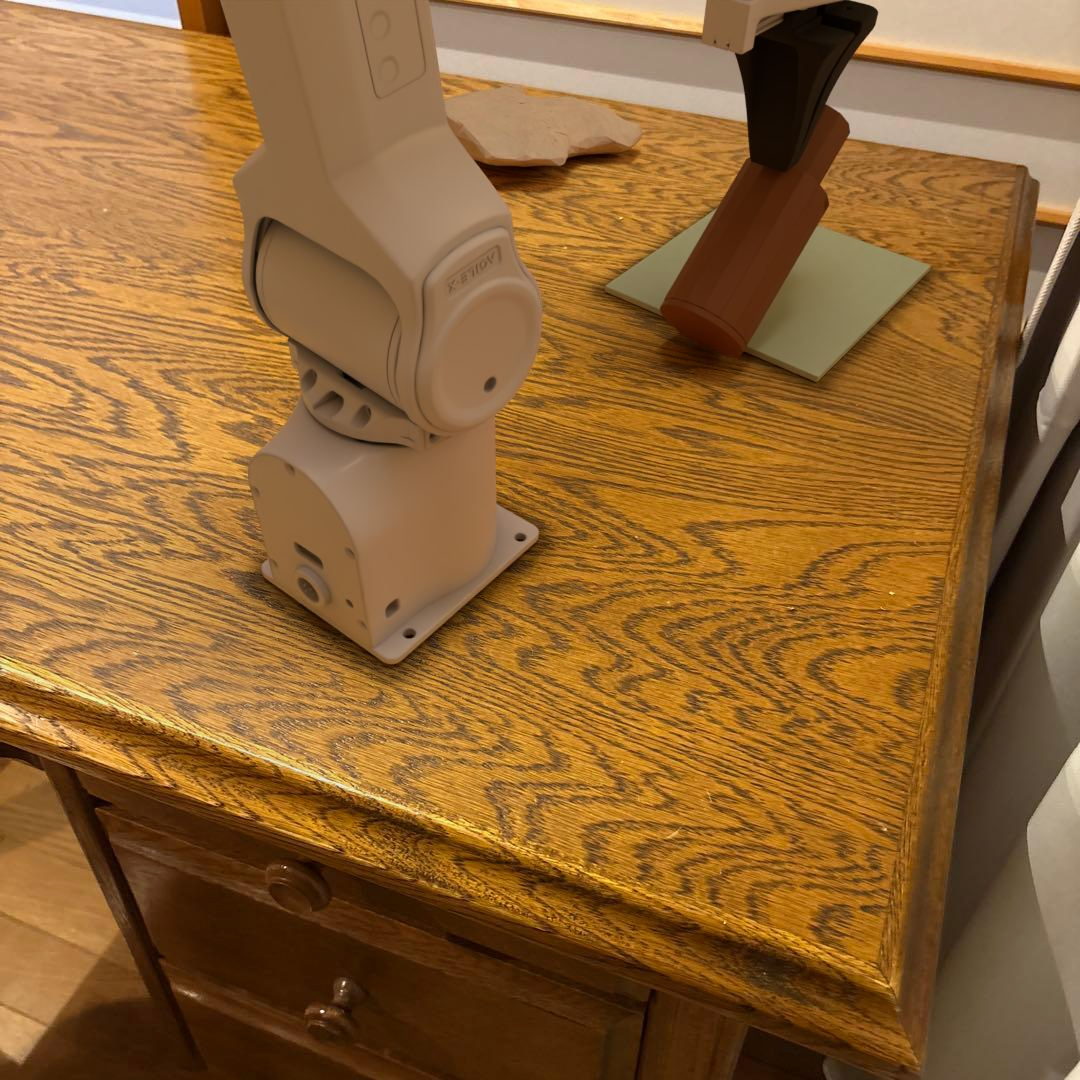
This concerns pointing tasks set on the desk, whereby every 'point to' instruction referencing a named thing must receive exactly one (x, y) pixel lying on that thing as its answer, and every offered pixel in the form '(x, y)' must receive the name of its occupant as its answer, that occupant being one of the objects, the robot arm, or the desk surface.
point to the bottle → (753, 244)
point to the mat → (796, 295)
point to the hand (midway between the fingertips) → (773, 162)
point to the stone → (535, 127)
